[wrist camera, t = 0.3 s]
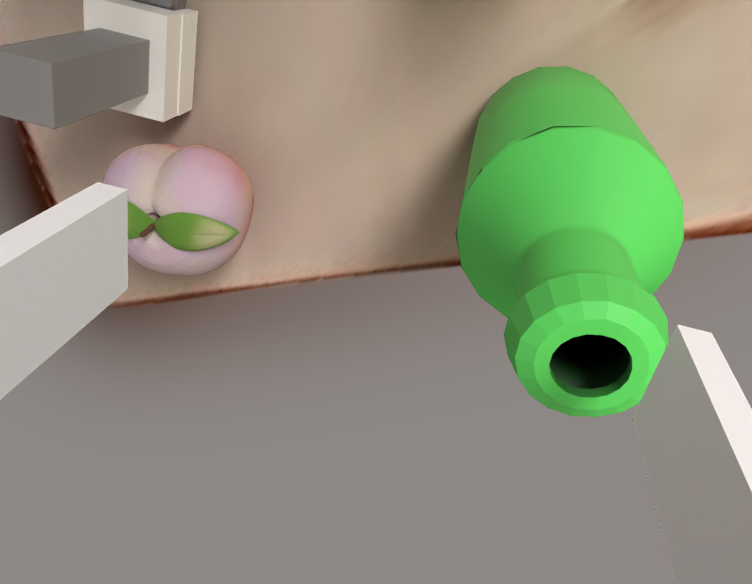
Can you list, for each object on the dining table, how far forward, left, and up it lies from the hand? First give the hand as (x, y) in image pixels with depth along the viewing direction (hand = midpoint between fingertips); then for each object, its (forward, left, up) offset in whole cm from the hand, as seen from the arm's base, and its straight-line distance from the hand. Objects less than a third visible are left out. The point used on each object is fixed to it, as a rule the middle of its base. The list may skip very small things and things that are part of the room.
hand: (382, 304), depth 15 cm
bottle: (+1, +6, -28) cm, 28 cm away
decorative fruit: (+10, -15, -28) cm, 33 cm away
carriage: (+2, -19, -27) cm, 33 cm away
